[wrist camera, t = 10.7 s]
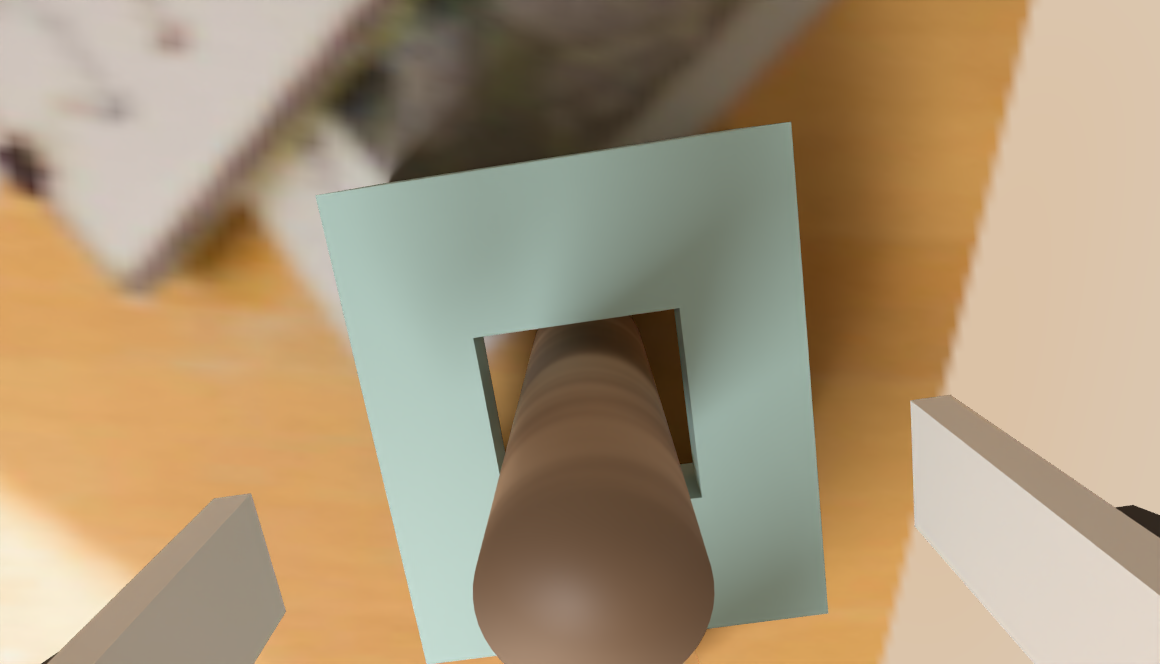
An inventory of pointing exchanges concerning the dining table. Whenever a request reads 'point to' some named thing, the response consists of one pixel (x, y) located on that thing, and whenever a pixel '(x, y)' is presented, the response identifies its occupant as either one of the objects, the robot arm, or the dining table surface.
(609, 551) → the pin long
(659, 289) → the bridge
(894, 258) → the dining table surface
